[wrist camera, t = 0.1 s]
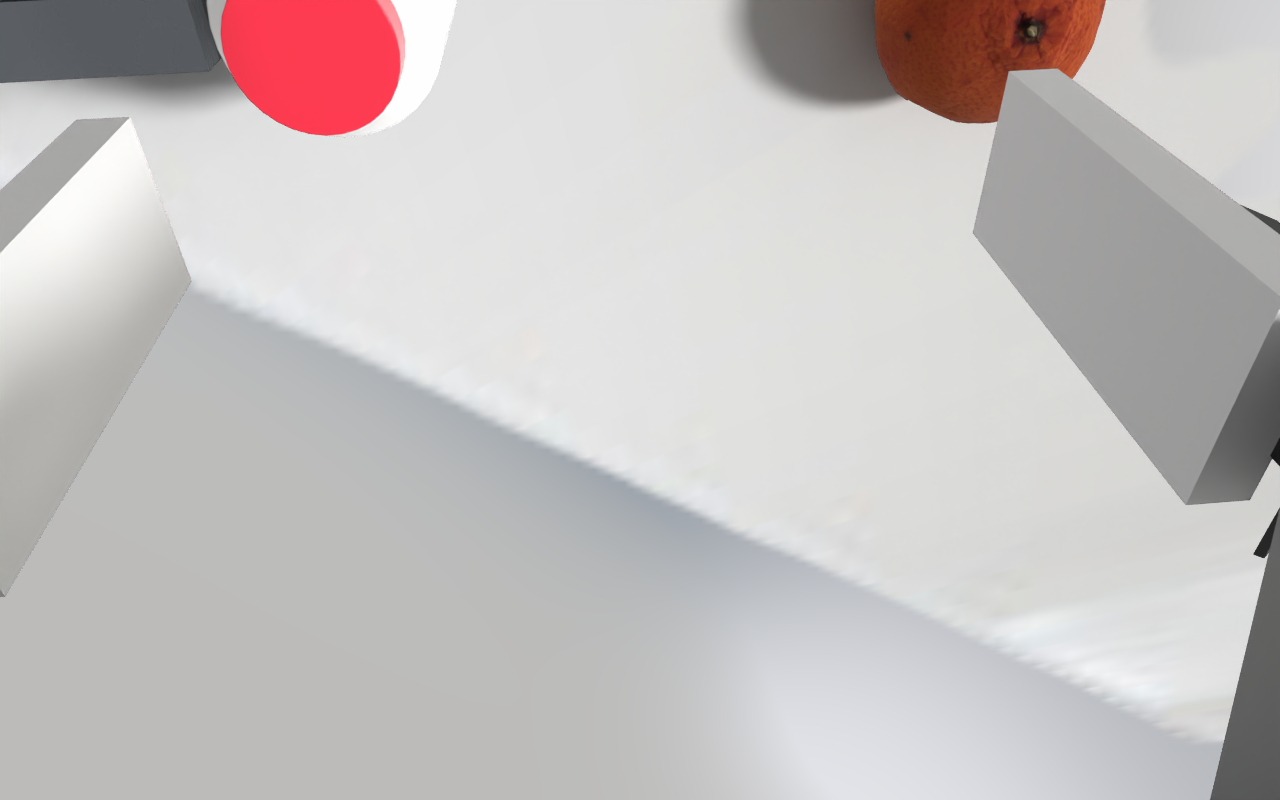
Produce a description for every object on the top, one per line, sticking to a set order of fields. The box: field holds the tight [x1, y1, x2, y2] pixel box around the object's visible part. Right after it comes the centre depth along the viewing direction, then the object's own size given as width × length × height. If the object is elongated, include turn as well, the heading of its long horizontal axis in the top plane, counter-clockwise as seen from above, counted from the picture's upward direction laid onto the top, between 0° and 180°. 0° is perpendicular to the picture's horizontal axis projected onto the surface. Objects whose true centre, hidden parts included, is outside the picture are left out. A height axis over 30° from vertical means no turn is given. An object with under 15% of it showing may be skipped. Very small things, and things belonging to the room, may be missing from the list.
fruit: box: [875, 0, 1106, 123], centre depth 37 cm, size 9×9×8 cm
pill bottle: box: [207, 0, 458, 138], centre depth 33 cm, size 8×8×11 cm
